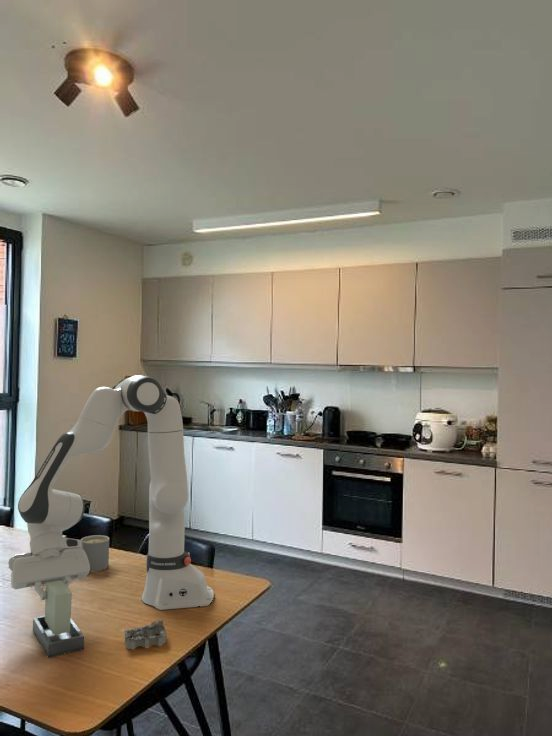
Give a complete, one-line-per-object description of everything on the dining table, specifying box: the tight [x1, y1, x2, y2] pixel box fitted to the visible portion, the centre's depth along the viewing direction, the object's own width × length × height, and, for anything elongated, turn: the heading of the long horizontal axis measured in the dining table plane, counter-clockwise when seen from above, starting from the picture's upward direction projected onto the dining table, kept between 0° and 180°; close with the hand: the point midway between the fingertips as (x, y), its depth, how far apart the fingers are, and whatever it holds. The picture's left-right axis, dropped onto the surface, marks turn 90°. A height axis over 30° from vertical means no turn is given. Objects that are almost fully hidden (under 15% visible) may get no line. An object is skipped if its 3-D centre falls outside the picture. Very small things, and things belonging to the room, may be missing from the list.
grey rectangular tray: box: [32, 615, 85, 659], centre depth 146 cm, size 9×18×3 cm, turn 35°
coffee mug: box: [80, 534, 110, 573], centre depth 200 cm, size 13×10×10 cm
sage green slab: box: [44, 580, 73, 635], centre depth 146 cm, size 4×10×10 cm, turn 35°
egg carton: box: [124, 620, 168, 650], centre depth 146 cm, size 11×8×4 cm
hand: (55, 596), depth 149 cm, fingers closed on sage green slab, 4 cm apart
